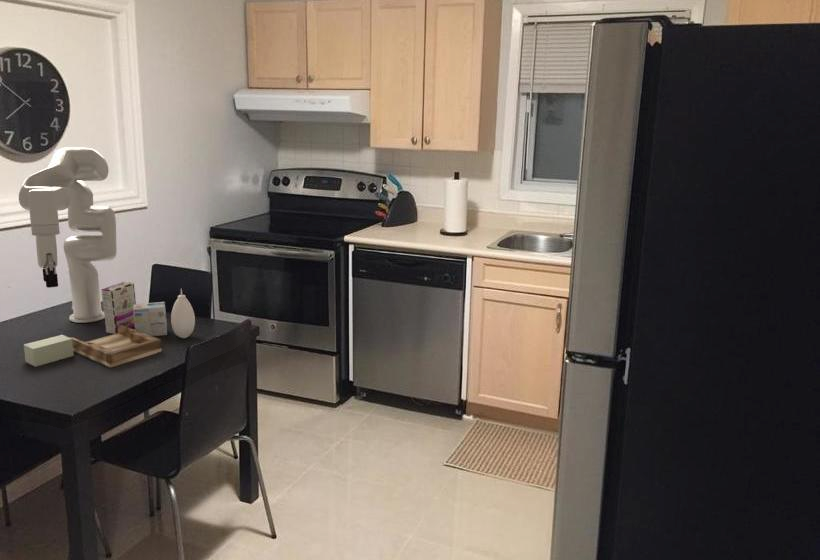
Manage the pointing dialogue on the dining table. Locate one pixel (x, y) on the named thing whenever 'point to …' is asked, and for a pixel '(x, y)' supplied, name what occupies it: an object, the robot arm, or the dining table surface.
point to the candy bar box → (118, 306)
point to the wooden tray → (118, 347)
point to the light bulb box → (150, 318)
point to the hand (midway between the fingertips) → (50, 283)
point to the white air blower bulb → (182, 317)
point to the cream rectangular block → (48, 350)
